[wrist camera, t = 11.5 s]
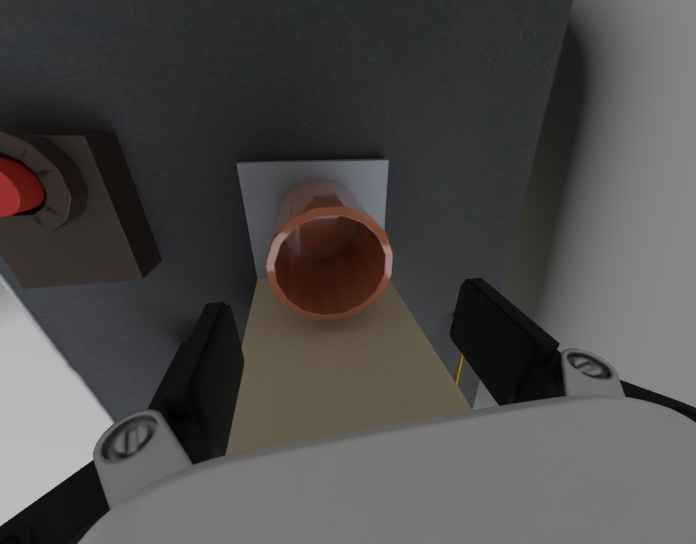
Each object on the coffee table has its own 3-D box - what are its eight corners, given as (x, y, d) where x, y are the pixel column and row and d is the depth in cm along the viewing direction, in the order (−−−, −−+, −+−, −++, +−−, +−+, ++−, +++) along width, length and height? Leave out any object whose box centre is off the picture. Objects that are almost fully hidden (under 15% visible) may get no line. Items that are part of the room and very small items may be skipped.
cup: (269, 180, 21) (256, 210, 14) (361, 177, 23) (397, 203, 15) (281, 264, 25) (275, 327, 17) (359, 258, 26) (388, 314, 18)
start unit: (-23, 127, 18) (-124, 126, 14) (113, 127, 19) (60, 126, 15) (57, 268, 23) (2, 301, 18) (161, 260, 24) (132, 290, 20)
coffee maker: (238, 161, 22) (-38, 326, 4) (385, 158, 23) (689, 256, 5) (267, 322, 29) (225, 637, 11) (376, 310, 31) (492, 562, 13)
